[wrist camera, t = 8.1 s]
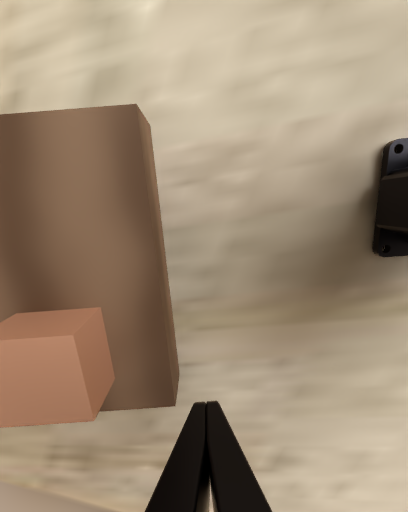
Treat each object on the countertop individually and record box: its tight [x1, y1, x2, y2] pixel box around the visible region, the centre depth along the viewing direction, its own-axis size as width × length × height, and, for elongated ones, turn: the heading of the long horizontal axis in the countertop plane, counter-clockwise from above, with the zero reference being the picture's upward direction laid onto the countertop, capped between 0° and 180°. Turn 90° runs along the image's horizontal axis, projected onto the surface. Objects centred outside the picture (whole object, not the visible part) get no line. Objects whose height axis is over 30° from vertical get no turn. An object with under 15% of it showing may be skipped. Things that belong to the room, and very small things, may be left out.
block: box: [0, 307, 115, 428], centre depth 11 cm, size 4×4×2 cm
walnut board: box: [0, 104, 179, 411], centre depth 12 cm, size 12×16×2 cm
